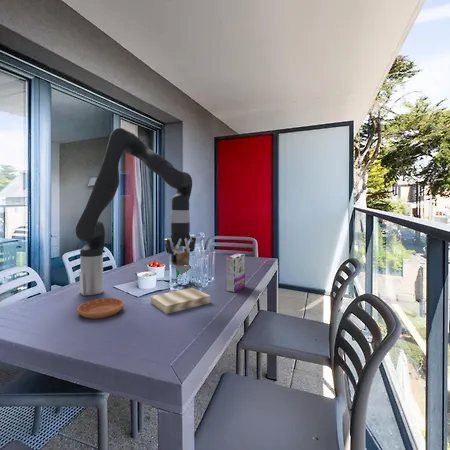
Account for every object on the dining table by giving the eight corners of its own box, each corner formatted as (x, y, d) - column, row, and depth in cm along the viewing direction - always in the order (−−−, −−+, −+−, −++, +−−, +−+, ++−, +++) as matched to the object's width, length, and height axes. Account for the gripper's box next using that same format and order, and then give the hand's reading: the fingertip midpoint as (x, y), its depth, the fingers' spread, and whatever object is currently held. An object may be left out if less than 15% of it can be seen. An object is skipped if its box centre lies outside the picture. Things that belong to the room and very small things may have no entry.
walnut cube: (178, 266, 114) (178, 253, 113) (172, 264, 118) (172, 252, 117) (189, 264, 117) (189, 252, 116) (182, 262, 121) (182, 250, 120)
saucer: (77, 324, 97) (77, 315, 97) (77, 308, 112) (77, 301, 111) (127, 316, 105) (126, 308, 105) (120, 302, 119) (120, 295, 119)
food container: (187, 287, 141) (187, 267, 140) (175, 286, 142) (175, 266, 142) (195, 280, 153) (195, 262, 152) (184, 279, 154) (184, 261, 154)
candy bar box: (236, 285, 145) (236, 253, 144) (245, 286, 143) (245, 254, 141) (225, 291, 136) (225, 256, 134) (234, 292, 133) (235, 257, 132)
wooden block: (166, 313, 107) (166, 306, 107) (150, 303, 118) (150, 296, 117) (210, 302, 119) (210, 295, 119) (192, 294, 130) (192, 287, 130)
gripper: (190, 220, 123) (190, 259, 125) (159, 221, 114) (160, 263, 116) (200, 221, 117) (200, 262, 119) (168, 222, 108) (169, 266, 110)
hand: (180, 262), depth 117 cm, fingers closed on walnut cube, 5 cm apart
